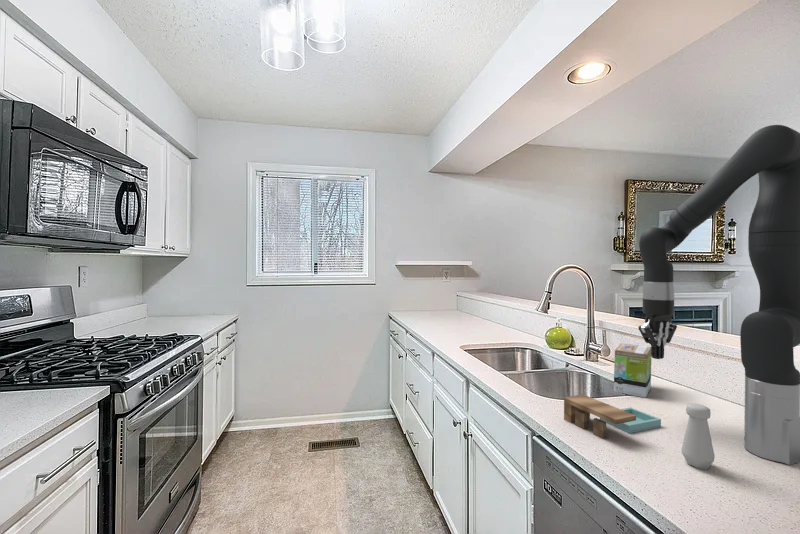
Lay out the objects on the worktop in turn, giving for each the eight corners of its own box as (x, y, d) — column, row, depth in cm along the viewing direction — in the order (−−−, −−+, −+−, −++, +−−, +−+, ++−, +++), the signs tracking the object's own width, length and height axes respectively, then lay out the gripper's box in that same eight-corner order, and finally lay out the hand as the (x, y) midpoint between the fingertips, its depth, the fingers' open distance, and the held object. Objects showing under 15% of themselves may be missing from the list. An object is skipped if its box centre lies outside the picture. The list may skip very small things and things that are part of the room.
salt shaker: (682, 455, 89) (682, 398, 88) (714, 463, 85) (715, 404, 85) (680, 465, 84) (681, 406, 84) (714, 474, 80) (715, 412, 80)
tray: (660, 428, 104) (660, 419, 104) (628, 434, 100) (628, 425, 100) (630, 415, 113) (630, 407, 113) (599, 421, 108) (599, 412, 108)
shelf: (636, 440, 96) (636, 415, 96) (615, 445, 93) (615, 419, 93) (582, 415, 111) (582, 394, 111) (564, 419, 109) (564, 397, 109)
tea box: (647, 398, 126) (648, 353, 126) (612, 392, 132) (613, 349, 132) (651, 387, 138) (651, 345, 137) (619, 381, 144) (619, 342, 144)
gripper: (654, 299, 104) (654, 363, 104) (687, 298, 109) (687, 359, 109) (629, 297, 111) (628, 357, 111) (661, 295, 116) (660, 353, 116)
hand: (657, 358), depth 110 cm, fingers closed
